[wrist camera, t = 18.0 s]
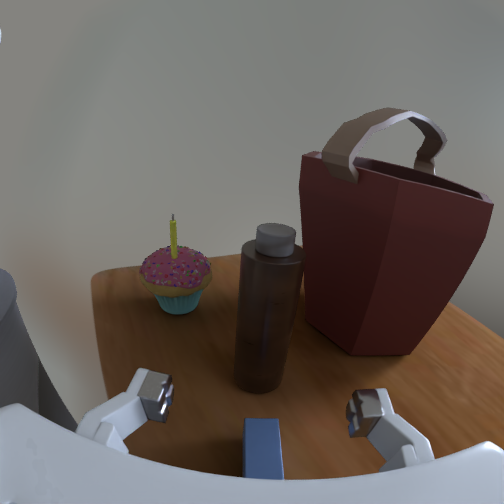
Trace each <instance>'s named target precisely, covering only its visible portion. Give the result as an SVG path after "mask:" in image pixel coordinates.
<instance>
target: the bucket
mask: <svg viewBox="0 0 504 504" xmlns="http://www.w3.org/2000/svg"><path fill="white" fill-rule="evenodd" d="M406 118H407V119H409V120H410V121H411V122H413V123H414V124H415V125H416V126H417V127H418V128H419V129H420V130H421V131H422V133H423V134H424V136H425V140H424V142H423V144H422V146H421V147H420V149H419V150H418V151H417V157H416V159H415V163H414V169H411V168H408V167H404V166H400V165H396V164H391V163H387V162H383V161H378V160H374V159H369V158H362V157H356V155H357V154H358V152H359V151H360V150H361V148H362V147H363V146H364V144H365V143H366V141H367V140H368V139H369V138H370V136H371V135H372V134H373V133H375V132H377V131H380V130H383V129H385V128H387V127H388V126H390V125H391V124H393V123H395V122H398V121H400V120H403V119H406ZM446 142H447V139H446V136H445V134H444V132H442V130H441V129H440V128H439V127H438V126H437V125H436V124H435V123H434V122H433V121H432V120H430V119H428V118H426V117H425V116H423V115H421V114H418V113H415V112H412V111H408V110H401V109H395V108H383V109H379V110H375V111H372V112H369V113H366V114H364V115H362V116H360V117H359V118H357V119H354V120H351V121H348V122H345V123H343V125H342V126H341V127H340V128H339V129H338V130H337V132H336V133H335V134H334V135H333V136H332V137H331V138H330V140H329V141H328V142H327V144H326V145H325V147H324V148H323V150H322V152H316V151H313V152H310V153H308V154H304V155H302V161H301V171H300V181H299V195H300V209H301V224H302V242H303V250H304V251H305V252H306V260H305V266H304V289H305V320H306V321H308V322H309V323H310V324H312V325H313V326H314V327H315V328H317V329H318V330H319V331H320V332H322V333H323V334H324V335H325V336H327V337H328V338H329V339H331V340H332V341H333V342H334V343H336V344H337V345H338V346H340V347H341V348H342V349H343V350H345V351H346V352H347V353H349V354H350V355H410V353H411V352H412V351H413V350H414V348H415V347H416V346H417V345H418V343H419V342H420V341H421V340H422V338H423V337H424V336H425V334H426V333H427V332H428V330H429V329H430V328H431V326H432V325H433V324H434V322H435V321H436V319H437V318H438V317H439V315H440V314H441V312H442V311H443V309H444V308H445V306H446V305H447V303H448V302H449V300H450V299H451V297H452V296H453V294H454V292H455V291H456V289H457V288H458V286H459V284H460V283H461V281H462V280H463V278H464V276H465V274H466V272H467V271H468V269H469V267H470V266H471V264H472V262H473V260H474V258H475V257H476V254H477V253H478V251H479V249H480V247H481V245H482V243H483V241H484V239H485V237H486V233H487V229H488V226H489V222H490V218H491V214H492V210H493V206H494V204H493V203H492V201H491V200H490V199H489V198H488V196H487V195H485V194H483V193H480V192H478V191H475V190H473V189H470V188H468V187H466V186H463V185H461V184H458V183H455V182H453V181H450V180H448V179H445V178H442V177H439V176H436V175H435V165H434V157H436V156H437V155H438V154H439V153H440V152H441V151H442V149H443V148H444V146H445V144H446Z"/></svg>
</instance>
